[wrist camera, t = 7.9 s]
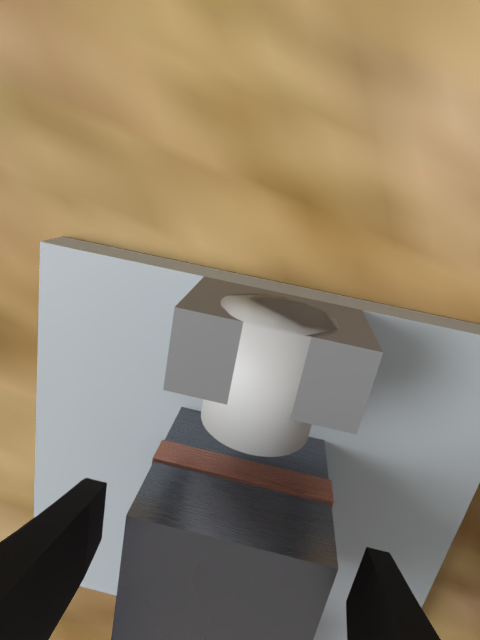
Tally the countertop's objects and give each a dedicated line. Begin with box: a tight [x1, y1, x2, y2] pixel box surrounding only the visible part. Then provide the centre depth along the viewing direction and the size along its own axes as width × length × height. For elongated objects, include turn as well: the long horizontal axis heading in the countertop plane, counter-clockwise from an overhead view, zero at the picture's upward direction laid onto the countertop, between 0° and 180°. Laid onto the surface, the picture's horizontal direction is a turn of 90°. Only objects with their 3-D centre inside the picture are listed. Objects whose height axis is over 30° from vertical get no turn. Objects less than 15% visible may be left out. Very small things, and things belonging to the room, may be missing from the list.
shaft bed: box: [34, 236, 480, 640], centre depth 13 cm, size 13×14×4 cm
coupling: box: [111, 407, 338, 640], centre depth 12 cm, size 5×5×4 cm
